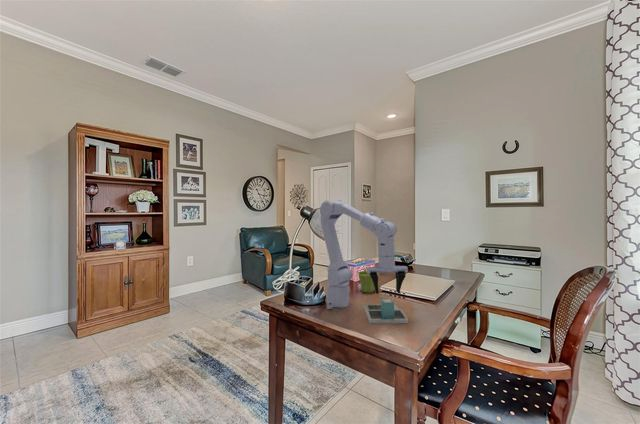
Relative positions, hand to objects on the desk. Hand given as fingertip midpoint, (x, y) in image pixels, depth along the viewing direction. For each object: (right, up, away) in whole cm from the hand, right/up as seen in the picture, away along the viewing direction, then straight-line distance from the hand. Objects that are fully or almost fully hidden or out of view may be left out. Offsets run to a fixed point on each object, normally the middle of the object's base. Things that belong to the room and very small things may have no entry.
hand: (387, 292), depth 95 cm
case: (0, -10, 0) cm, 10 cm away
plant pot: (-1, -9, +32) cm, 33 cm away
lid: (0, -10, +9) cm, 13 cm away
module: (0, -9, 0) cm, 9 cm away
